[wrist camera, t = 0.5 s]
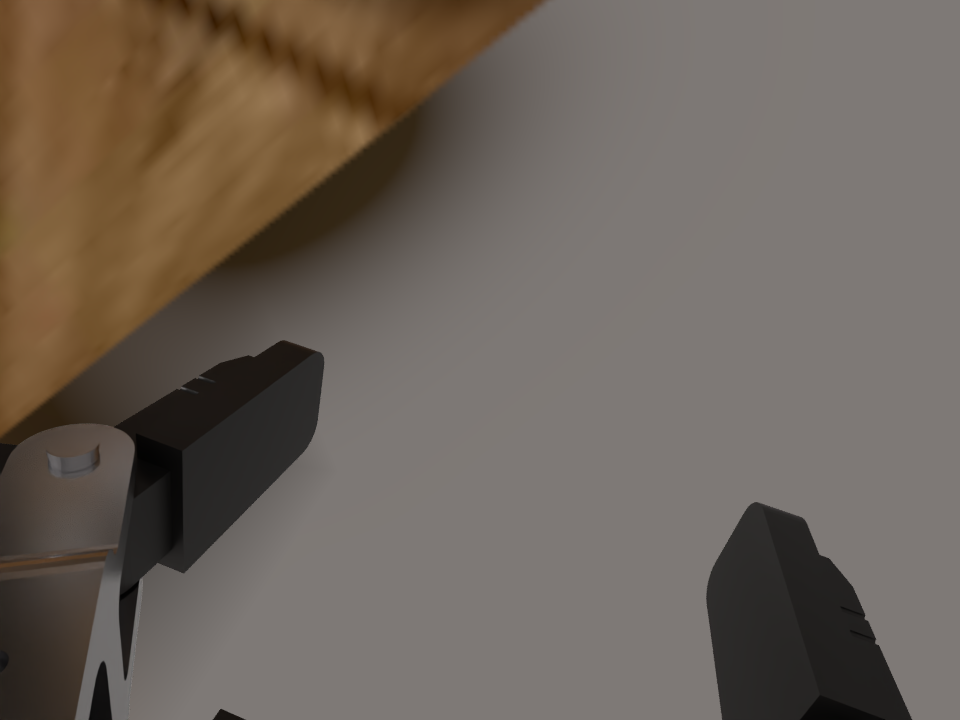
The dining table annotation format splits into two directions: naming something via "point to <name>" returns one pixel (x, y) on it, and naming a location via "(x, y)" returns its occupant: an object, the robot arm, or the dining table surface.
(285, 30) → the dining table surface
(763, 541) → the robot arm
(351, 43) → the dining table surface
